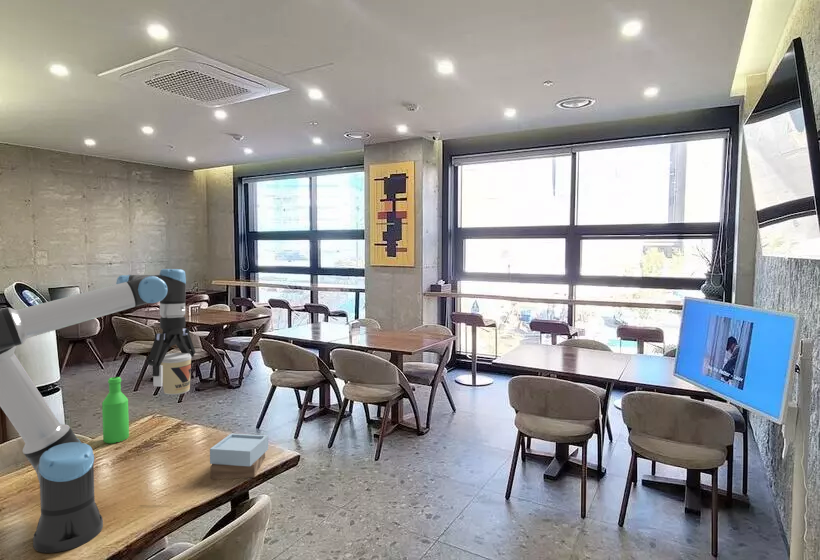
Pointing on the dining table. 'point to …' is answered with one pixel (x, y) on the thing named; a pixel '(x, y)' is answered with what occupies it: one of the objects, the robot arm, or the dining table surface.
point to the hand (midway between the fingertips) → (172, 381)
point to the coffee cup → (176, 373)
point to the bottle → (115, 413)
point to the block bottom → (236, 470)
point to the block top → (239, 449)
